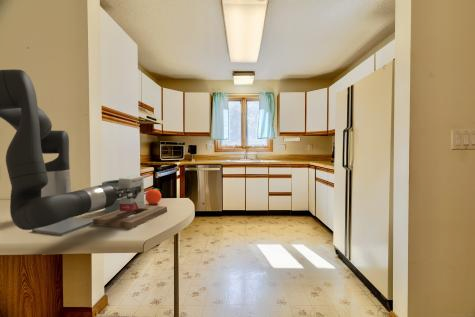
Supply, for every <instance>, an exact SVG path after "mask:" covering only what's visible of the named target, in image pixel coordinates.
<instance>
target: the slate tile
mask: <svg viewBox="0 0 475 317" xmlns="http://www.w3.org/2000/svg"><path fill="white" fill-rule="evenodd" d="M91 225H94V224H93V218H92V219H91V218H84V217H83V218H82V217H72V218H68V219H66V220H63V221H61V222H58V223H55V224H52V225H49V226H45V227H41V228H36V229H32V230H31V232H32V231H36V232H35V233H39V232H43V233H42V234H47V233H50V234H49V235H55V234H56V235H57V236H64V235H67V234H70V233H72V232H75V231H77V230H80V229H83V228H86V227H88V226H91ZM56 235H55V236H56Z"/></svg>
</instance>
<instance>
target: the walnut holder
mask: <svg viewBox="0 0 475 317" xmlns="http://www.w3.org/2000/svg"><path fill="white" fill-rule="evenodd" d="M167 212H168V207H167V206H163V205H151V204H149V205H147V204H144V206H143V207H140V208H138V209H136V210H134V211H120V209H119V210H116V211H114V212H107V213H106V214H102V215H100V216H96V217H94V218H92V219H93V224H92V225H97V226H104V227H105V226H106V227H112V228H113V227H114V228H124V229H134V228H136V227H138V226H140V225H142V224H144V223H146V222H149V221H150V220H152V219H154V218H157V217H158V216H161V215H163V214H165V213H167Z"/></svg>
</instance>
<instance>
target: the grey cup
mask: <svg viewBox="0 0 475 317" xmlns="http://www.w3.org/2000/svg"><path fill="white" fill-rule="evenodd" d="M104 184H108V185H110V186H112V187H119V179H113V180H105V181H102V182H101V185H104ZM104 209H105V212H106V213H111V212H114V211H116V210H119V209H120V204H119V200H116V201H115V203H114V204H113V205H112V206H110V207H107V208H104Z"/></svg>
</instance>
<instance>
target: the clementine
mask: <svg viewBox="0 0 475 317" xmlns="http://www.w3.org/2000/svg"><path fill="white" fill-rule="evenodd" d="M160 190H161V189H159V188H151V189H149V190H147V192H146V194H144V199H145V201H146V202H147V203H148V204H149V205H155V204H158V203H159V202H160V201H161V200H162V193H161V191H160Z"/></svg>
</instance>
